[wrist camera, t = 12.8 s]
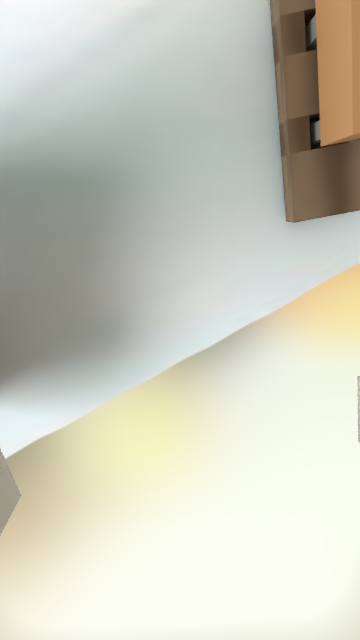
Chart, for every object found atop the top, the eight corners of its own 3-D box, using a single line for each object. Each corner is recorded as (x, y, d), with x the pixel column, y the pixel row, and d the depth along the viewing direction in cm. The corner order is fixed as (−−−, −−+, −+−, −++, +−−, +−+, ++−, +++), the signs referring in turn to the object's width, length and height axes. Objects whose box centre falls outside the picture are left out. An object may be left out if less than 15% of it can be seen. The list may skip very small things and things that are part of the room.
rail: (286, 221, 37) (293, 222, 35) (265, -61, 29) (273, -84, 27) (359, 207, 37) (371, 207, 35) (358, -82, 29) (374, -108, 27)
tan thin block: (305, 152, 35) (352, 134, 26) (298, 23, 31) (350, -53, 22) (334, 146, 35) (392, 126, 25) (331, 16, 31) (397, -63, 22)
